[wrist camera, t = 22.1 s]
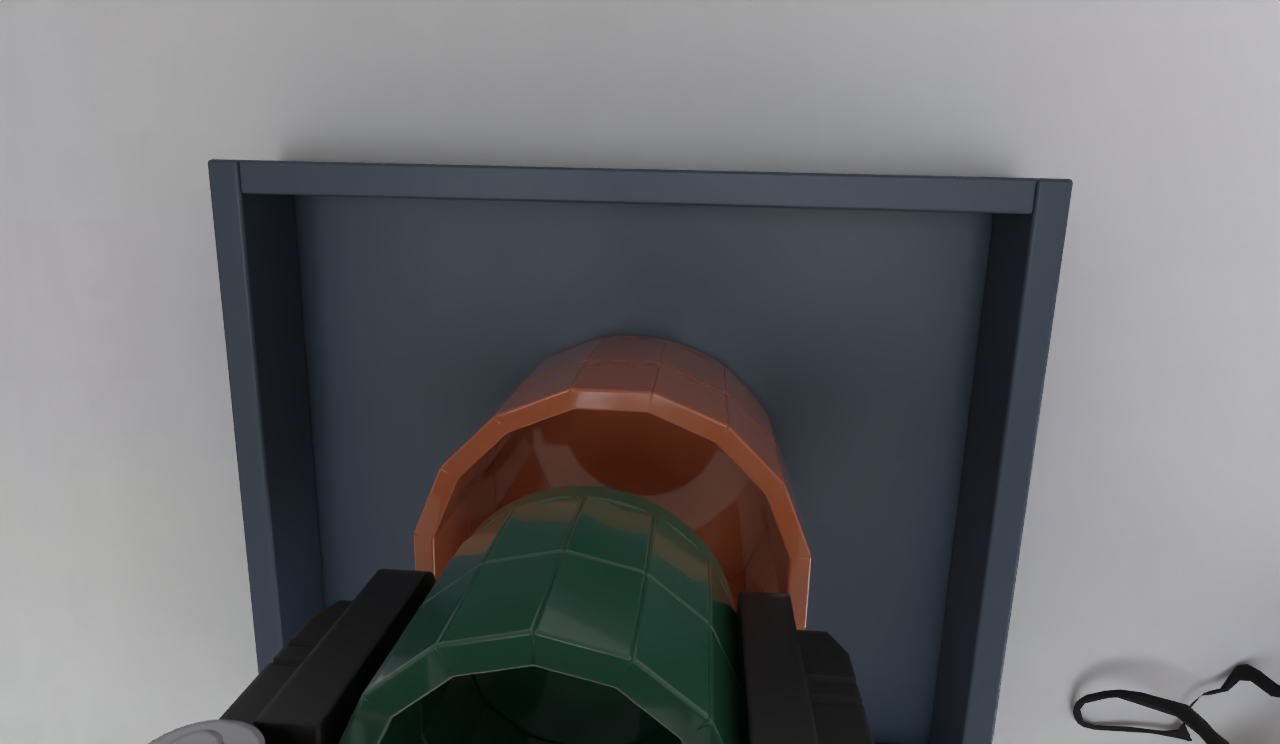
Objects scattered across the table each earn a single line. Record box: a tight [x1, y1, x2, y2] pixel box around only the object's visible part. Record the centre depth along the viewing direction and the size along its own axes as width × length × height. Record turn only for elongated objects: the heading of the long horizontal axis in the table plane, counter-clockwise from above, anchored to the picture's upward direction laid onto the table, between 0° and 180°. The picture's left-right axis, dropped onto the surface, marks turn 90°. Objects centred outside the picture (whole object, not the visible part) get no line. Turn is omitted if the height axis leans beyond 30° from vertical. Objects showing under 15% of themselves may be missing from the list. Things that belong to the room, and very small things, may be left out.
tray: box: [208, 159, 1073, 744], centre depth 17 cm, size 15×13×2 cm
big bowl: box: [414, 335, 811, 630], centre depth 16 cm, size 6×6×4 cm
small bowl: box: [338, 486, 745, 744], centre depth 10 cm, size 4×4×4 cm
